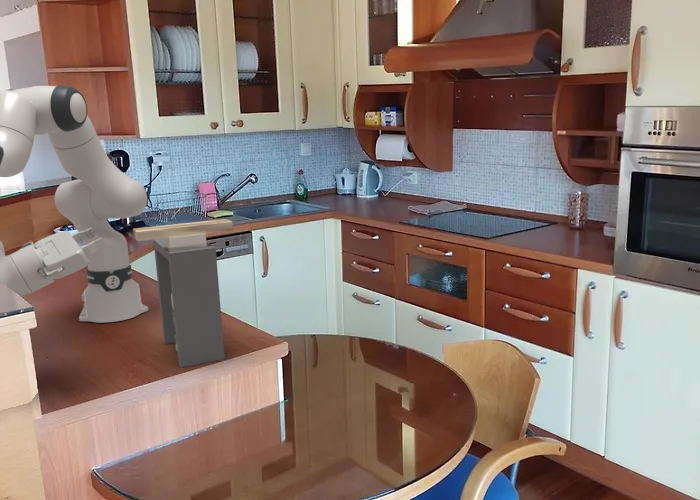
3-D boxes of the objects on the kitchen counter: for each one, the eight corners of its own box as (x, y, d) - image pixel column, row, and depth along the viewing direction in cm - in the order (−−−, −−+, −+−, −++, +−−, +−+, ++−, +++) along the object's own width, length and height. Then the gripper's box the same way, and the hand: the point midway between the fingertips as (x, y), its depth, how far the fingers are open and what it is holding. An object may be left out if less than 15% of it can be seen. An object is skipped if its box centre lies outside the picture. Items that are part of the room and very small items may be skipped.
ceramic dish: (165, 247, 150) (163, 234, 149) (200, 242, 153) (199, 230, 153) (170, 251, 145) (169, 238, 144) (206, 247, 148) (205, 233, 147)
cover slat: (134, 237, 146) (133, 228, 146) (227, 227, 155) (226, 218, 154) (137, 241, 142) (136, 231, 141) (233, 230, 150) (232, 221, 150)
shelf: (163, 341, 165) (153, 239, 160) (203, 334, 170) (194, 234, 164) (180, 367, 148) (169, 253, 143) (224, 359, 152) (215, 247, 147)
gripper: (33, 266, 127) (102, 233, 132) (22, 242, 144) (83, 214, 149) (50, 293, 129) (116, 260, 134) (37, 267, 146) (96, 238, 151)
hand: (99, 235), depth 142 cm, fingers open, 8 cm apart
